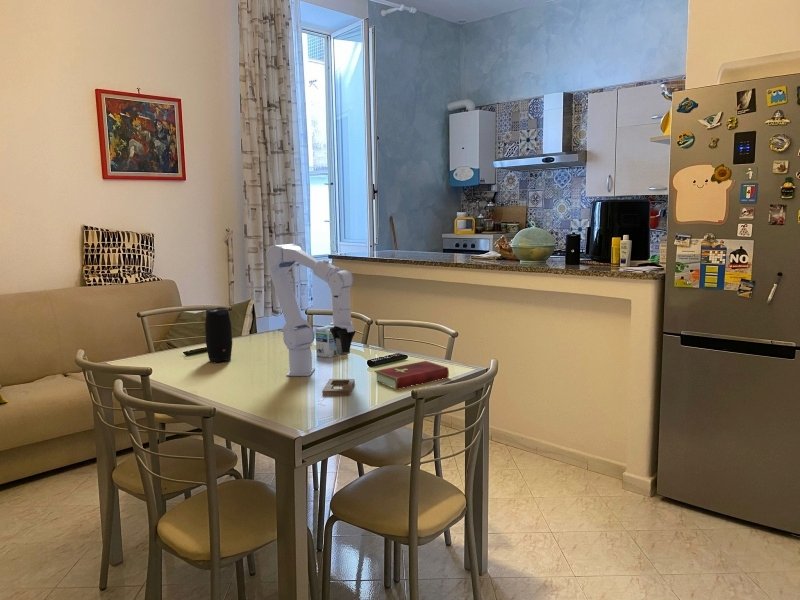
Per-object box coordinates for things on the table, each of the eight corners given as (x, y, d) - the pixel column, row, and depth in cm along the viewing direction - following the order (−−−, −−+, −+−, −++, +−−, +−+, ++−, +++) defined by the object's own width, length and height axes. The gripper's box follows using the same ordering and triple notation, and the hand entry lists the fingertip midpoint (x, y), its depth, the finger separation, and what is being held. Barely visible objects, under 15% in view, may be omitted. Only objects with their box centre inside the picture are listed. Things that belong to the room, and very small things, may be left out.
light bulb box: (329, 358, 227) (328, 330, 225) (315, 356, 230) (314, 328, 229) (346, 352, 236) (345, 325, 234) (332, 350, 239) (332, 323, 238)
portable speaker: (232, 362, 222) (230, 309, 219) (206, 364, 220) (202, 311, 217) (233, 357, 231) (230, 306, 228) (207, 358, 228) (204, 307, 225)
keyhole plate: (329, 383, 193) (329, 378, 193) (354, 383, 192) (354, 378, 192) (322, 395, 180) (322, 390, 180) (349, 395, 180) (349, 390, 179)
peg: (338, 356, 197) (337, 336, 196) (351, 357, 197) (350, 336, 196) (335, 360, 193) (334, 339, 192) (348, 360, 192) (347, 339, 192)
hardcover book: (448, 379, 197) (448, 366, 197) (396, 391, 185) (396, 377, 185) (426, 371, 207) (425, 359, 207) (374, 382, 195) (374, 369, 194)
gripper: (321, 306, 197) (323, 347, 199) (338, 312, 184) (339, 356, 186) (342, 305, 200) (343, 345, 202) (359, 310, 188) (360, 353, 190)
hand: (342, 350), depth 195 cm, fingers closed on peg, 4 cm apart
